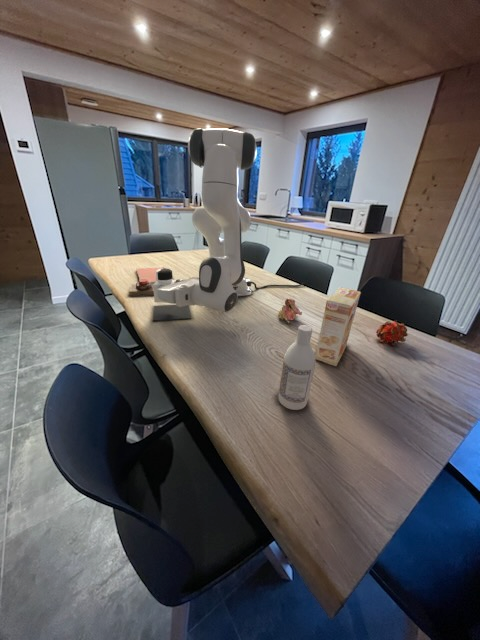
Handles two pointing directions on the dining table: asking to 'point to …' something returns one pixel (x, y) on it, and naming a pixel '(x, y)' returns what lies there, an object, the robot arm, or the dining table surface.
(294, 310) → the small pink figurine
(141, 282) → the button
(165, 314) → the mat
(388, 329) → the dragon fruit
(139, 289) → the button box
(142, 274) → the notebook
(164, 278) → the medicine bottle
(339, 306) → the coffeecake box
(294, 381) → the bath foam
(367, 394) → the dining table surface
